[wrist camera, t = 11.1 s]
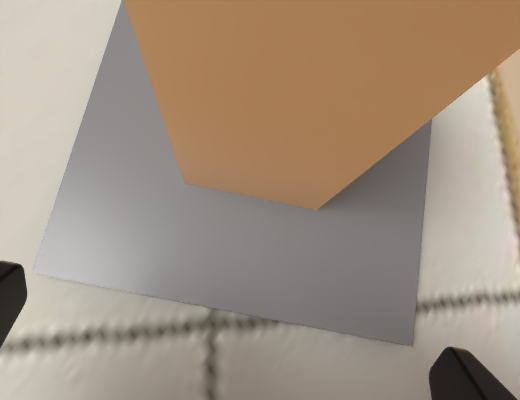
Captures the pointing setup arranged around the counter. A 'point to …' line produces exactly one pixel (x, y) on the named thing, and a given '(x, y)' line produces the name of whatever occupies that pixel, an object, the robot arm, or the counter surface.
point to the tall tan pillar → (309, 83)
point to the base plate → (230, 223)
